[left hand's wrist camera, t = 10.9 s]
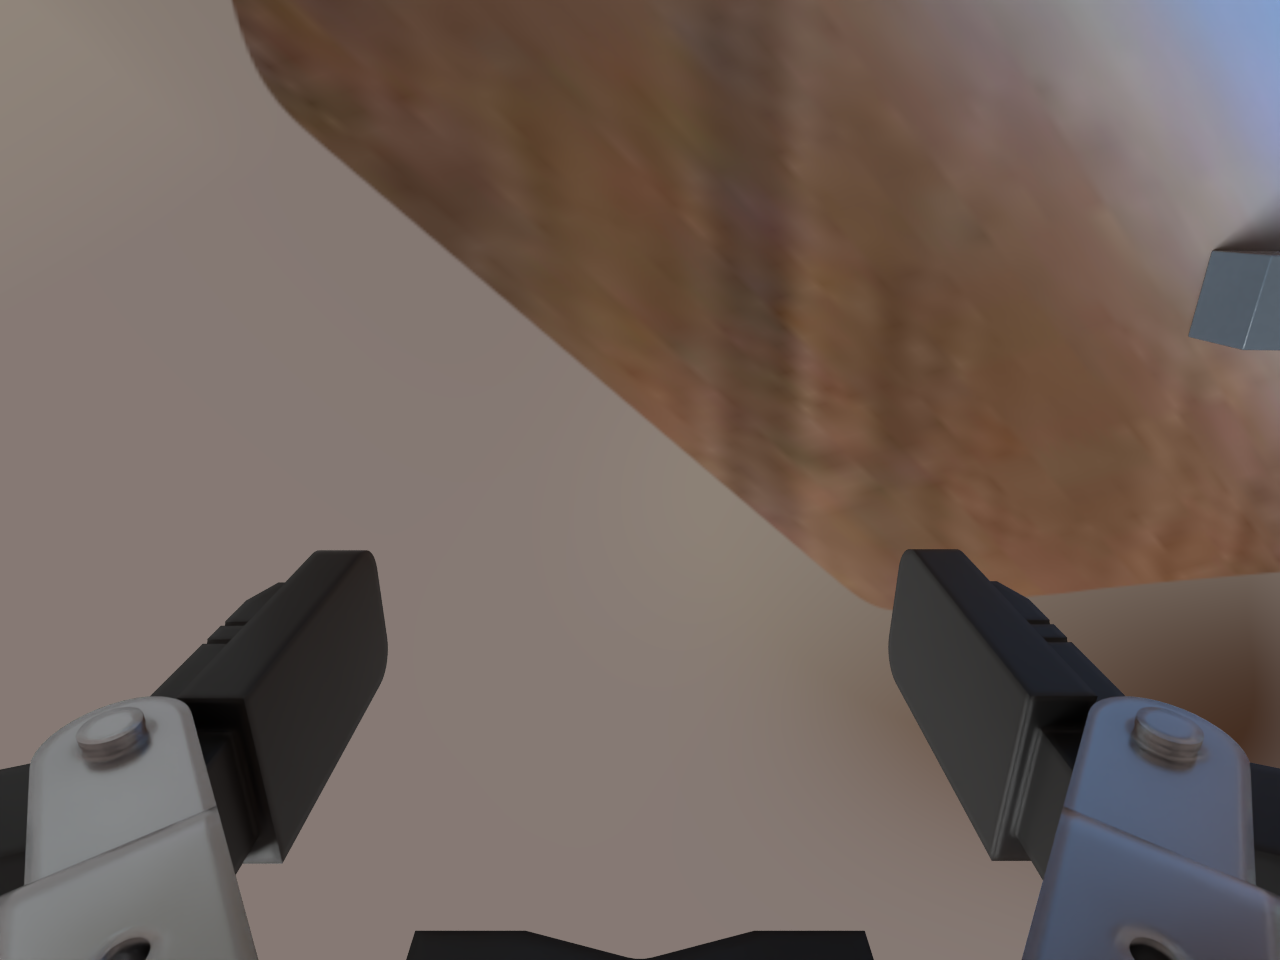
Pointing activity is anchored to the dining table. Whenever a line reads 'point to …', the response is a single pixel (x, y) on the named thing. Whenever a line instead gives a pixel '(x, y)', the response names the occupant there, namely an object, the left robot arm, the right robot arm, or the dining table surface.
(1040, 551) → the dining table surface
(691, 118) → the dining table surface
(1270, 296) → the block
